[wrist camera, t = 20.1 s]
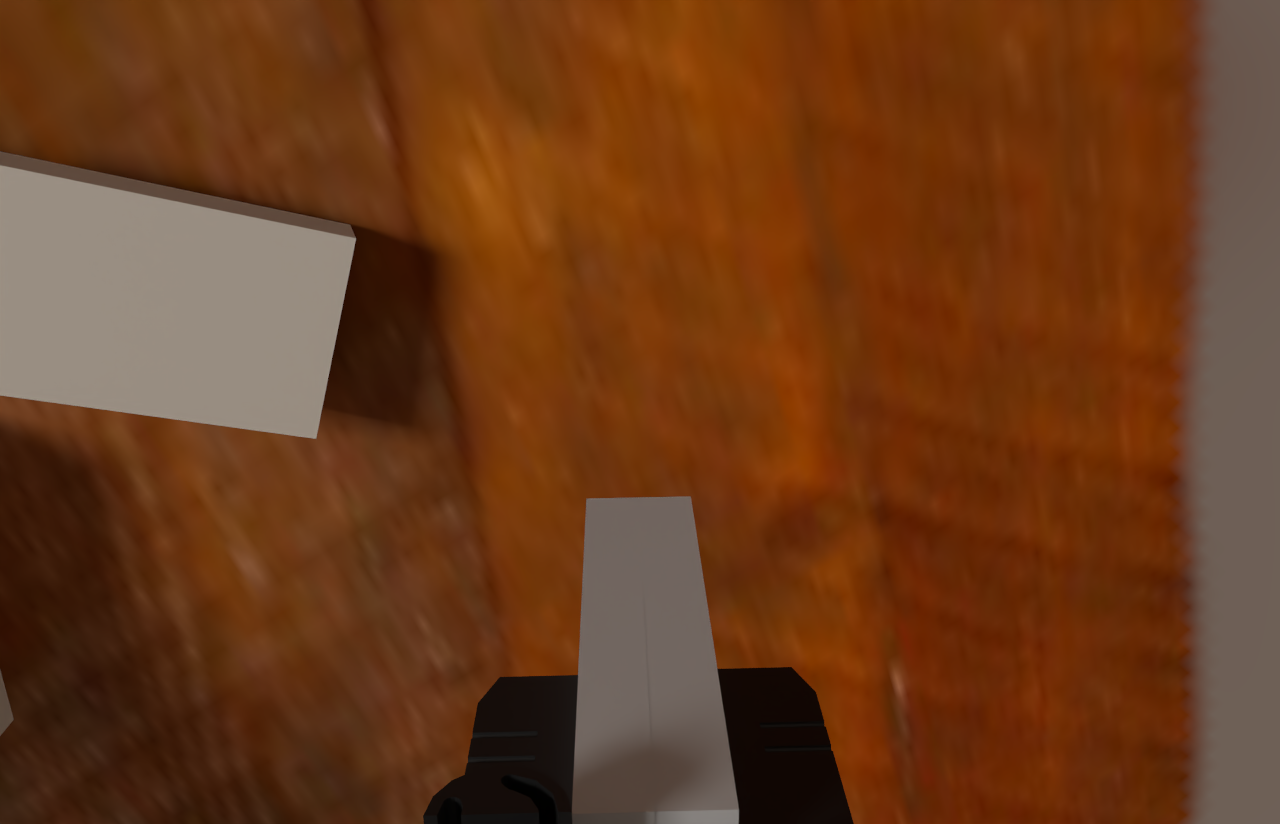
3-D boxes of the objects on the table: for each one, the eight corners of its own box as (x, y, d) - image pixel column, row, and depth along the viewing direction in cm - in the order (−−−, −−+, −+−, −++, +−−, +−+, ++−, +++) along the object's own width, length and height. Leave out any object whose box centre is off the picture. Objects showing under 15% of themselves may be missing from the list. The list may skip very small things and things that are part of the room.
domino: (312, 415, 35) (-149, 348, 30) (350, 224, 33) (-131, 124, 29) (316, 438, 33) (-174, 371, 28) (356, 238, 31) (-156, 133, 27)
